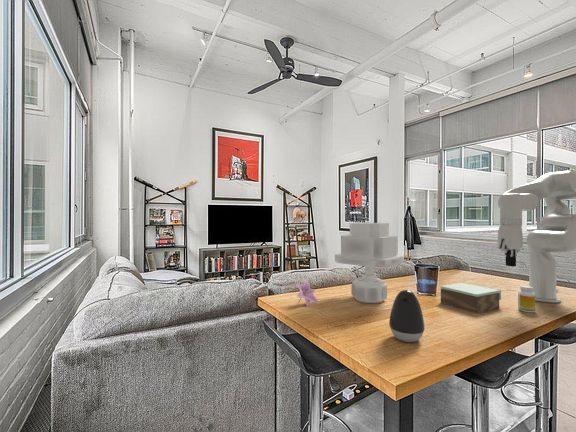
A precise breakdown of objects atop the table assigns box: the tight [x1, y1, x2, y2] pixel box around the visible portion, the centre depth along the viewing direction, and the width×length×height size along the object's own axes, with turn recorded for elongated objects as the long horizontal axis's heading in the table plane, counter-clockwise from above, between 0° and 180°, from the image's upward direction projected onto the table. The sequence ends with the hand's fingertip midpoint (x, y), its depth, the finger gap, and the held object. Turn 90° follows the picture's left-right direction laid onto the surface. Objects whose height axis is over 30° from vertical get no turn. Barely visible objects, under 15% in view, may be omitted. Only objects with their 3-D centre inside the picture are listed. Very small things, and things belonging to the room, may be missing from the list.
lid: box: [440, 282, 502, 301], centre depth 130 cm, size 16×16×4 cm
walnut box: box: [440, 288, 500, 314], centre depth 130 cm, size 15×16×6 cm
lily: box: [295, 278, 319, 308], centre depth 132 cm, size 12×12×10 cm
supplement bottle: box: [517, 285, 536, 313], centre depth 122 cm, size 5×5×10 cm
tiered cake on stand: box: [334, 222, 405, 304], centre depth 139 cm, size 27×27×35 cm
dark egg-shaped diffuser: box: [388, 289, 426, 343], centre depth 94 cm, size 10×10×15 cm
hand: (510, 265), depth 128 cm, fingers closed
